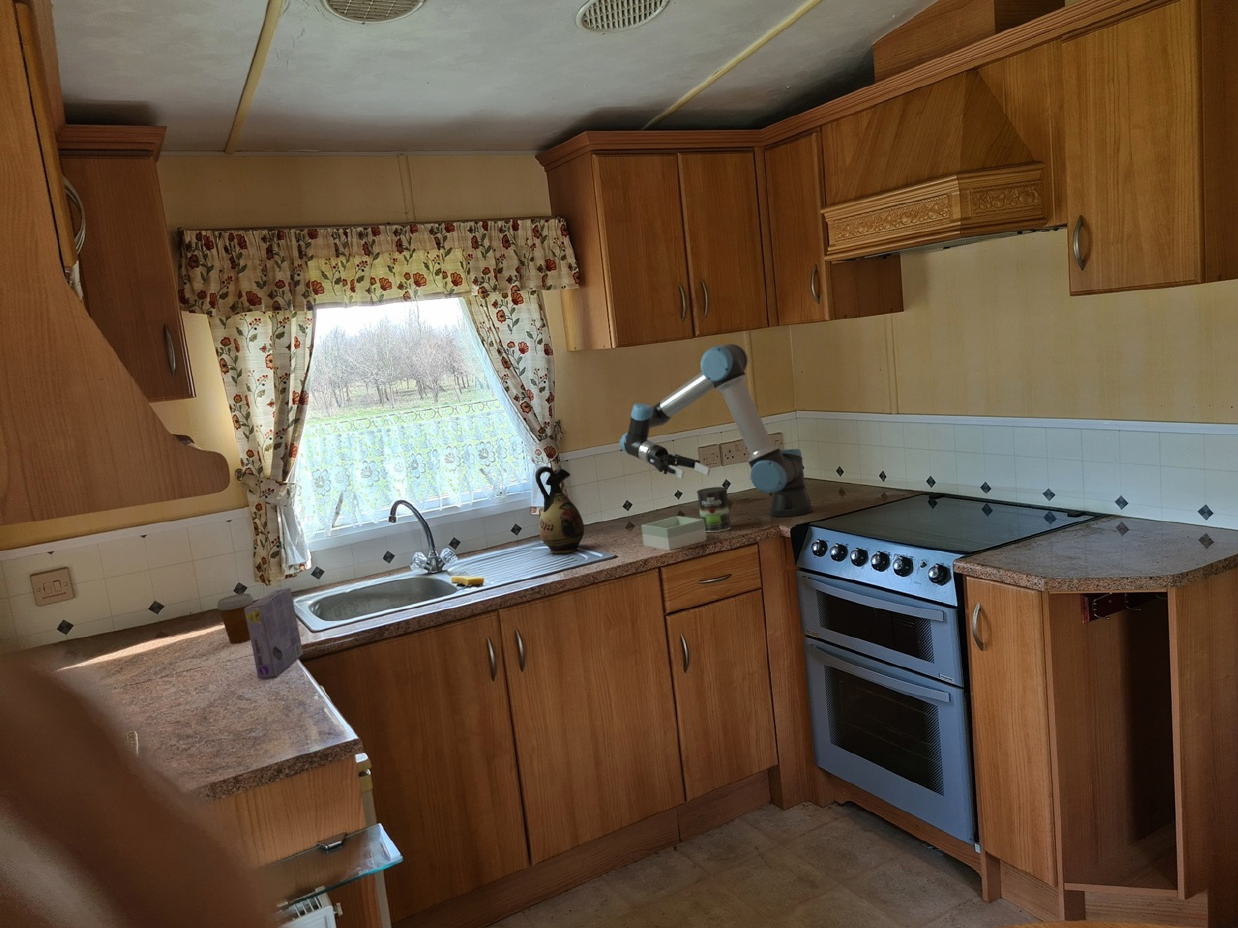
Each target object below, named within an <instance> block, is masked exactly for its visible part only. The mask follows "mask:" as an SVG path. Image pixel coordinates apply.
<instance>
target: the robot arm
mask: <svg viewBox="0 0 1238 928" xmlns="http://www.w3.org/2000/svg"><path fill="white" fill-rule="evenodd" d="M748 359H749V358H748V355H747V352H746V351H745V349H744V348H743V347H741V346H740V345H738V344H732V343H730V344H724V345H715V346H713V347H710V348H709V349H707V350H705V352H704V353H703V355H702V357H701V360H700V371H701V372H700V373H697V374H696V375H695V376H694V377H692V378H690V379H689V380H687V382H685V383H684V384H682V385H681V386H679V387H678V388H677V389H676V390H674V391H673V392H671V393H670V394H669V395H667V396H666V397H664V398H663V399H661V400H660V401H659V402H657V403H656V404H655V405H653V406H651V405H650V404H649V405H648V404H645V403H635V404H633V406H632V410H631V413H630V419H629V420H630V421H629V427H628V431H627V432H626V433H624V434H623V435H622V436H621V438H620V439H619V447H620V450H622V451H623V452H624V453H626V454H628V455H629V456H632V457H635V458H637V459H640V460H641V461H644V462H645V464H649V465H652V466H653V467H655V469H657V471H658V472H660V473H663V475H667V474H671V475H672V476H675V477H676V478H678V479H683V477H684V474H685V471H684V470H682V469H680V468H679V467H678V466H680V467H684V468H691V469H694V470H695V471H697V472H699V473H701V474H703V475H705V476H710V470H711V468H710V467H709V466H706V465H704V464H702V463H701V460H699V459H694V458H690V457H686V456H682V455H680V454H677V453H675V454H674V455H673V454H671V453H669V451H668V449H667V448H666V447H664V446H661V445H660V444H659V445H658V444H657V443H656V442H652V441H650V440H648V437H649V434H650V429H652V428H655V427H660V426H663V425H665V424H667V423H668V422H669V421H670V420H671V418H673V417H674V416H675V415H677V414H679V413H680V412H682V411H683V410H685V409H686V408H687V407H688V406H690V405H692V404H693V403H695V402H696V401H698V400H699V399H700V398H702V397H704V395H707V393H709V392H711V391H712V390H713V389H714V390H715V391H717V392H720V393H721V395H722V396H723V398H724V401H725V403H726V405H727V407H728V409H729V412H730V415H731V416H732V419H733V421H734V423H735V425H736V427H737V429H738V432H739V435H740V436H741V439H742V441H743V442H744V445H745V446H746V447H745V448H746V449H747V452H748V453H749V458H748V460H747V461H748V464H749V466H750V469H751V471H750V476H749V477H750V481H751V484H753V487H755V488H756V489H757V490H758V491H760V492H762V493H766V494H772V495H771V501H770V506H769V515H770V516H772V517H783V518H785V517H795V516H796V517H797V516H803V515H807V514H809V513H811V512H813V504H812V502H811V499H810V497H809V495H808V492H807V490H806V483H805V482H806V481H805V474H804V465H803V456H802V455H803V454H802V451H801V450H800V449H799V448H792V449H789V448H788V449H781V448H780V447H779V446H776V445H774V444H773V443H772V440H771V437H770V436H769V434H768V432H767V429H766V427H765V425H764V422H763V420H762V418H761V416H760V414H759V411H758V410H757V407H756V404H755V403H754V399H752V396H751V394H750V392H749V390H748V388H747V385H746V383H745V380H746V377H747V374H746V372H745V371H746V369H747V367H748V362H749V360H748Z"/></svg>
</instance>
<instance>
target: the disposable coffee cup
mask: <svg viewBox="0 0 1238 928" xmlns="http://www.w3.org/2000/svg"><path fill="white" fill-rule="evenodd" d="M253 603H254V598H253V596H252V594H250V593H238V594H234V595H233V594H232V595H228V596H225V597H222V598H220V599H218V600H217V604H216V608H217V609H218V611H219V612H220V616H221V619H222V622H223V625H224V628H225V632H226V634H227V637H228V640H229V643H230V644H240V643H245V642H248V641H251V640H250V635H249V630H248V626H247V621H246V616H245V611H244V608H246V607H248V606H250V605H251V604H253Z"/></svg>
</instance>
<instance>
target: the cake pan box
mask: <svg viewBox="0 0 1238 928" xmlns="http://www.w3.org/2000/svg"><path fill="white" fill-rule="evenodd" d="M244 611H245V616H246V621H247V626H248V630H249V635H250V640H249V641H250V643H251V644H250V645H251V649H252V654H253V659H254V663H255V664H254V665H255V669H256V673H257V679H260V680H262V679H273V678H277V677H278V676H279V675H281V673H283V672H284V671H285V670H286V669H288V668H290V666H292V665H293V664H294V662H296V661H297V660H298V659H299V658H300V657H302V656H303V655H304V651H303V645H302V641H301V636H300V630H299V624H298V620H297V616H296V610H295V605H294V599H293V594H292V590H291V588H290V587H287V588H283V589H278V590H273V591H272V592H271V593H269V594H267V595H265V596H263V597H261V598H260V599H258V600H257V601H255V602H253V603H252V604H251V605H250V606H248V607H246V608H244Z"/></svg>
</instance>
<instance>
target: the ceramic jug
mask: <svg viewBox="0 0 1238 928" xmlns="http://www.w3.org/2000/svg"><path fill="white" fill-rule="evenodd" d="M544 473H549V476H548V477H547V479H546V481H545V482H544V483H545V485H546V486H550V490H549V492H548V491H547V490H546V488H545V485H544V484H543V481H542V479H541V476H542V474H544ZM534 476H535V478H534V479H535V482H536V484H537V486H538V489H539V490H540V492H541V494H542V496H543V507H542V510H541V513H540V517H539V521H538V522H539V523H538V532H539V533H538V534H539V537H540V539H541V541H542V543H543V544H544V545H546V547H547V548H548V549H549V550H550V553H551V554H566V553H572V552H577V551H578V550H579V549H578V548H579V545H580V544H581V542H582V539H583V538H584V533H585V524H584V521H583V518H582V514H580V511H579V510H578V508H577V506H576V505H575V504H574V503H573V502H572V500H570V498H569V497H568V496H567V495H566V494H565V493H564V492H563V490H562V489H561V488H562V487H561V486H560V485H561V483H562V482H563V481H565V480H567V479H568V478H569V477H571V473H569V472H568V471H567V470H566V469H564V468H563V467H561V468H557V469H556V470H554V469H553V468H552V467H550V466H546V465H545V466H544V465H543V466H540V467H539V468H537V470H536V472H535V475H534Z"/></svg>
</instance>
